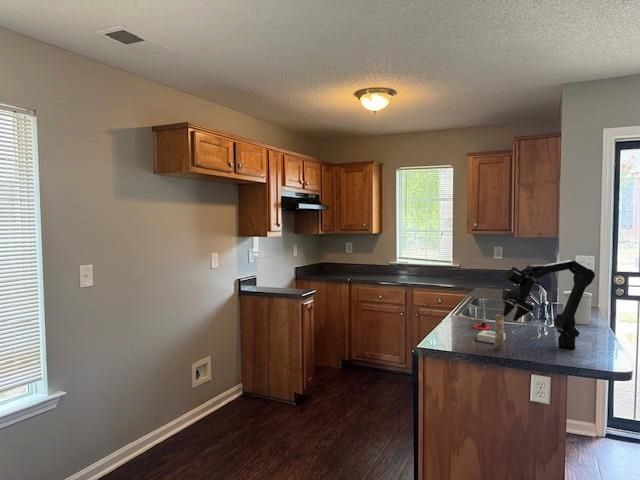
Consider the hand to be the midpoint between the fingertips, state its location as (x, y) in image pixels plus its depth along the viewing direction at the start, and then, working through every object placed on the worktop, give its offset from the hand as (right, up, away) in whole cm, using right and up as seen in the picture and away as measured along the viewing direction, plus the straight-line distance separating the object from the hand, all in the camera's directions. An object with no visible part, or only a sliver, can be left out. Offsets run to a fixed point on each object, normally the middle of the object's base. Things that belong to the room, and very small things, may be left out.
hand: (508, 318), depth 204 cm
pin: (-5, -14, 0) cm, 15 cm away
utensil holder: (+65, -12, +55) cm, 86 cm away
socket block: (-2, -14, +16) cm, 21 cm away
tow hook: (+2, -13, +40) cm, 42 cm away
